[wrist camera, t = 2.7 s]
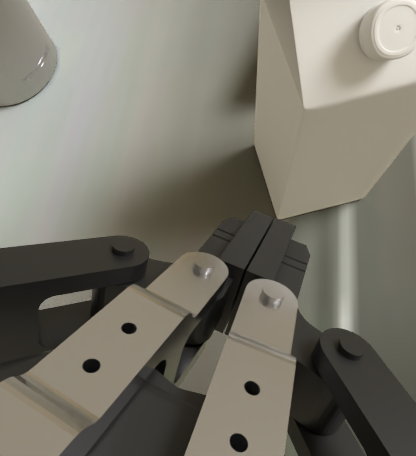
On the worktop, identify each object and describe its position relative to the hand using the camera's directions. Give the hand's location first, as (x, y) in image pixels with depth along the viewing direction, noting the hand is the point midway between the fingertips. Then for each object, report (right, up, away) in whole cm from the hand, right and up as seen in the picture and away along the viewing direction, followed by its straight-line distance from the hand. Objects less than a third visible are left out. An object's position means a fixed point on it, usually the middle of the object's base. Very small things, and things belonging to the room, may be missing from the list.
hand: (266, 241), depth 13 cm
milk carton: (+6, +5, +19) cm, 21 cm away
